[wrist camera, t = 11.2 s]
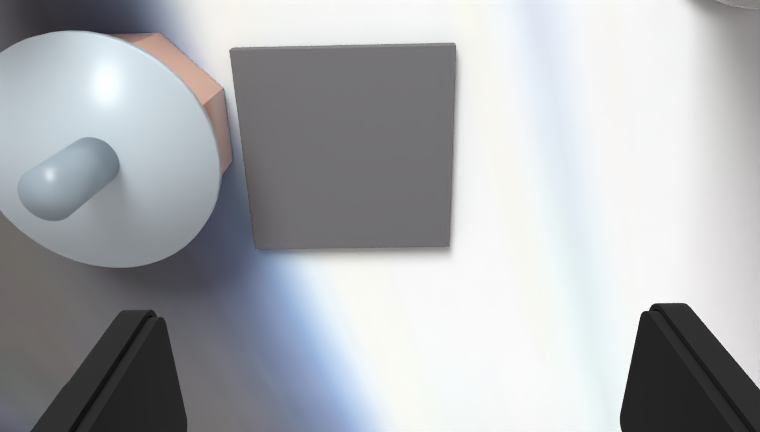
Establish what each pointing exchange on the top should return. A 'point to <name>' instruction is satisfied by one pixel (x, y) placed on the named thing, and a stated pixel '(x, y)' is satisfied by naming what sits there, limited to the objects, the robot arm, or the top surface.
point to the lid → (103, 150)
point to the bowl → (190, 84)
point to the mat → (347, 143)
